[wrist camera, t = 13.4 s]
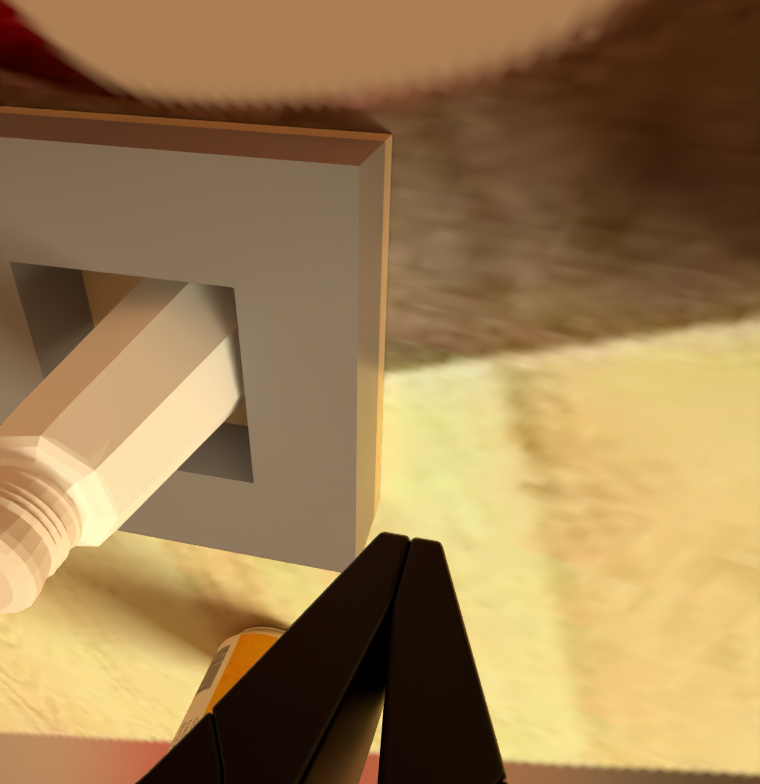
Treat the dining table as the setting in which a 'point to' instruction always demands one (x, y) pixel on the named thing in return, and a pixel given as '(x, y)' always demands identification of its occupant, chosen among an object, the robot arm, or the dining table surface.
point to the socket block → (252, 296)
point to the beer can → (227, 672)
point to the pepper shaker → (113, 425)
